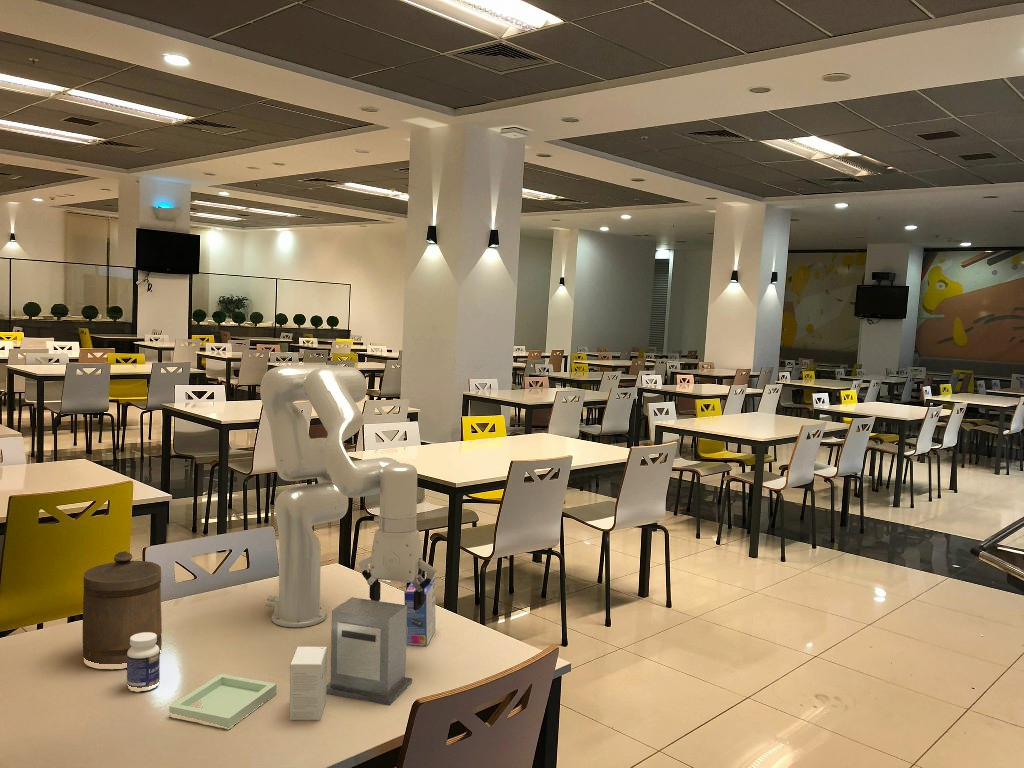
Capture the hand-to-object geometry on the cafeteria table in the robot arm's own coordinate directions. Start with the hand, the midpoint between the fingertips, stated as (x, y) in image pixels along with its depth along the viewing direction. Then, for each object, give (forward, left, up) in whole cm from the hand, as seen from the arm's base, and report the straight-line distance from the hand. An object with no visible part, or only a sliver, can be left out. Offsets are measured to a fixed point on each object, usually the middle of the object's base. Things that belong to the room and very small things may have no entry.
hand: (396, 605), depth 171 cm
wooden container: (-54, -17, -13) cm, 58 cm away
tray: (-21, -28, -13) cm, 37 cm away
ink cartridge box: (-1, +15, -13) cm, 20 cm away
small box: (-6, -24, -13) cm, 28 cm away
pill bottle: (-40, -27, -13) cm, 50 cm away
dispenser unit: (0, -12, -13) cm, 17 cm away
